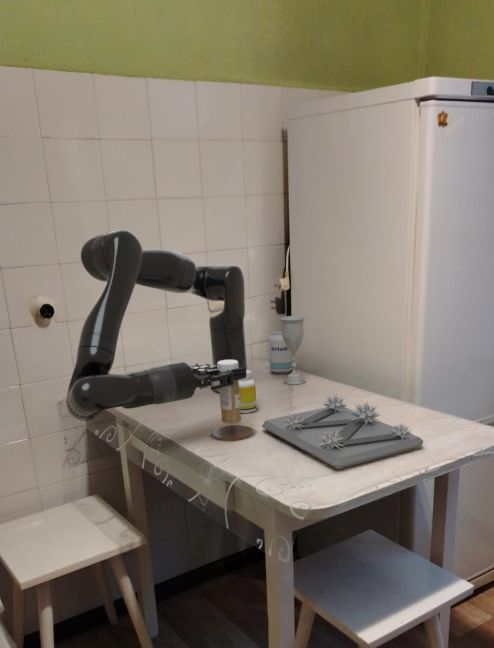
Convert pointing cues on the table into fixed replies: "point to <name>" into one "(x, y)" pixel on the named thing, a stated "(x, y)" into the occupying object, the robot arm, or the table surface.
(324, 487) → the table surface
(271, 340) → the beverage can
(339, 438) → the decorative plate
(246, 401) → the supplement bottle
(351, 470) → the table surface
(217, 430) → the coaster
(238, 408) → the sprinkles bottle
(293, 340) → the chalice
